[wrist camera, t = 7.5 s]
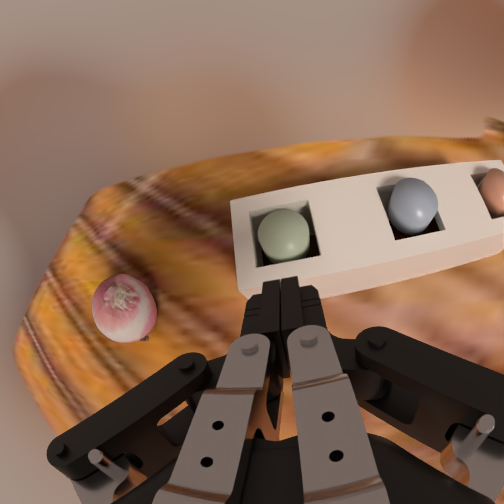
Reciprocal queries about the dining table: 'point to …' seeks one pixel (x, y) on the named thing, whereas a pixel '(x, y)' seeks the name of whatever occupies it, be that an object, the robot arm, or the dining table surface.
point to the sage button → (284, 236)
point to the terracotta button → (493, 191)
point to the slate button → (412, 206)
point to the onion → (124, 309)
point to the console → (369, 230)
